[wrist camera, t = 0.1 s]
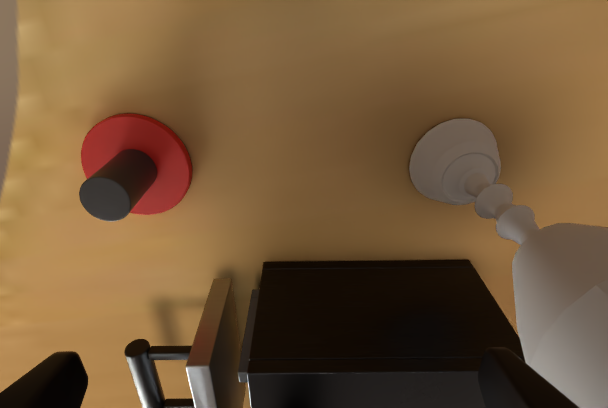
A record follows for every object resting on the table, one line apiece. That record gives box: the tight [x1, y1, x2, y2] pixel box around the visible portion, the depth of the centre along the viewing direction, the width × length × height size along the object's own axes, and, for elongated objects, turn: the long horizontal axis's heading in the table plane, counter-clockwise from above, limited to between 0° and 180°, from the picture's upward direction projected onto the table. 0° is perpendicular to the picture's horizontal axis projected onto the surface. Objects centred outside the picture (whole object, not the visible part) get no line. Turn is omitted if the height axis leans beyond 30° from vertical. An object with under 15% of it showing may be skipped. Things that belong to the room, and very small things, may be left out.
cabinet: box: [247, 260, 526, 408], centre depth 24 cm, size 14×12×9 cm
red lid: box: [79, 113, 192, 221], centre depth 20 cm, size 6×6×4 cm
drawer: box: [125, 278, 259, 408], centre depth 24 cm, size 17×11×7 cm, turn 91°
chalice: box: [409, 119, 608, 408], centre depth 14 cm, size 7×7×18 cm
